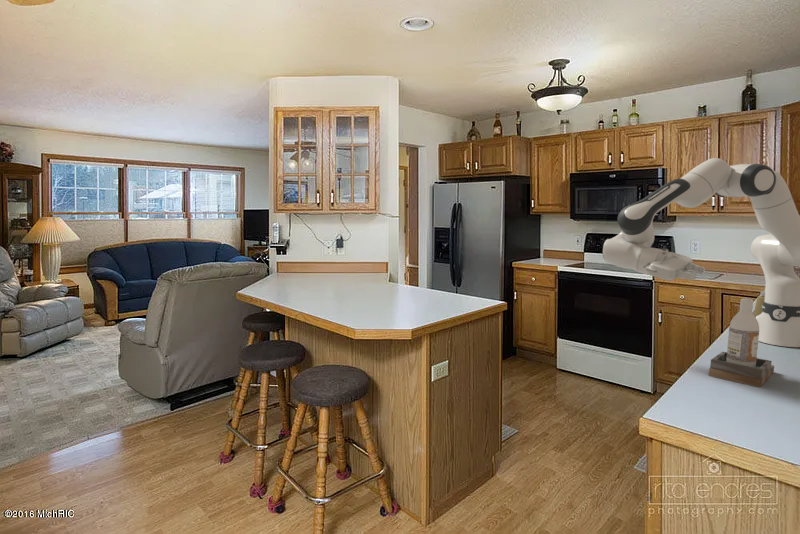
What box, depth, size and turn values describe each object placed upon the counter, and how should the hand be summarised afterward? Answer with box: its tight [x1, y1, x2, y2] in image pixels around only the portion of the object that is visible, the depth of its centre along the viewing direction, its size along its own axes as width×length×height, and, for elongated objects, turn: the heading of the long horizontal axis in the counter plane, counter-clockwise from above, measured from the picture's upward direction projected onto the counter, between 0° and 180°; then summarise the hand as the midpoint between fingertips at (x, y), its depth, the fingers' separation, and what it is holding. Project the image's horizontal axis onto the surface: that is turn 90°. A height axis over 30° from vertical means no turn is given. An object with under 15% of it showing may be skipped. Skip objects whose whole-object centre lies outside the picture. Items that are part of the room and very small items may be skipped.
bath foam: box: [726, 297, 759, 368], centre depth 137 cm, size 7×7×20 cm
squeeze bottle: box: [753, 289, 765, 317], centre depth 196 cm, size 8×8×18 cm
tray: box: [708, 351, 775, 388], centre depth 139 cm, size 18×12×4 cm, turn 132°
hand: (699, 274), depth 146 cm, fingers open, 8 cm apart
